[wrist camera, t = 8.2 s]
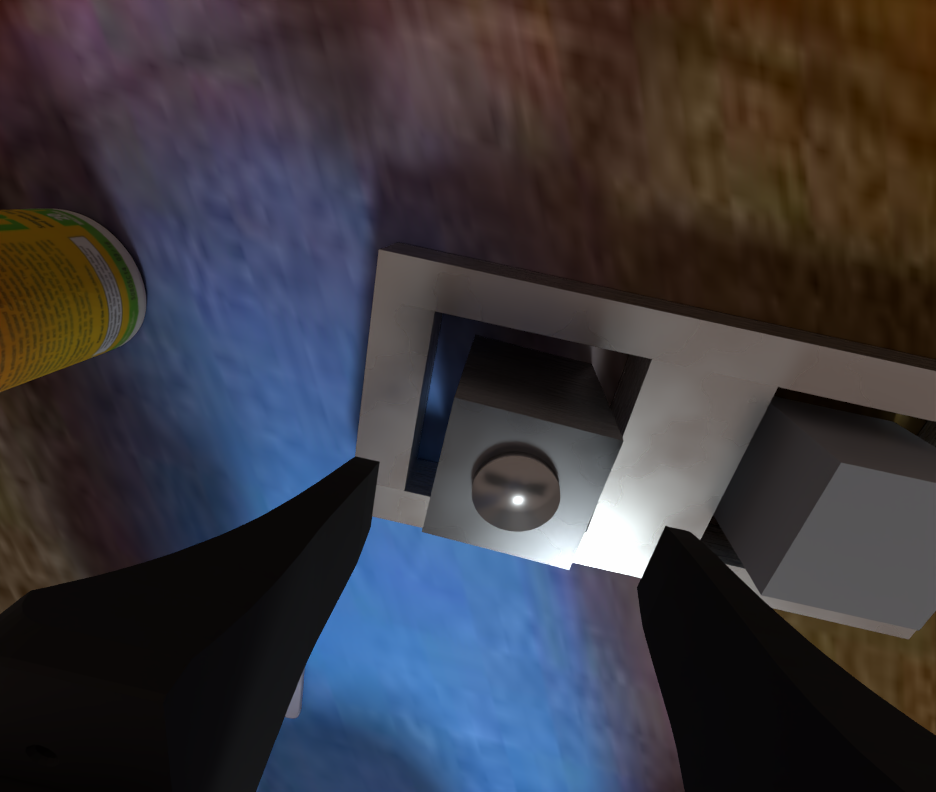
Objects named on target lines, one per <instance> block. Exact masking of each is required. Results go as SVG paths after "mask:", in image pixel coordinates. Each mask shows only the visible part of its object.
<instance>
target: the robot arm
mask: <svg viewBox="0 0 936 792" xmlns="http://www.w3.org/2000/svg"><path fill="white" fill-rule="evenodd" d="M379 464H380V462H379V461H375V460H370V459H366V458H361V457H357V456H356V457H354V458H352V459H351V460H349V461H348V462H346V463H345V464H343V465H342V466H341V467H339V468H338V469H336V470H335V471H333V472H332V473H331V474H329V475H328V476H326V477H325V478H323V479H322V480H320V481H319V482H317V483H316V484H314V485H313V486H311V487H310V488H308V489H306V490H305V491H303V492H302V493H300V494H299V495H297V496H296V497H294V498H292V499H291V500H289V501H287V502H285V503H284V504H282V505H280V506H278V507H277V508H275V509H273V510H271V511H270V512H268V513H266V514H264V515H262V516H260V517H259V518H257V519H255V520H253V521H251V522H249V523H246V524H244V525H242V526H240V527H238V528H235V529H233V530H231V531H229V532H227V533H224V534H222V535H220V536H217V537H215V538H212V539H209V540H207V541H204V542H201V543H199V544H196V545H194V546H191V547H188V548H186V549H183V550H180V551H178V552H175V553H172V554H169V555H166V556H163V557H160V558H157V559H154V560H151V561H147V562H144V563H141V564H137V565H134V566H131V567H127V568H124V569H120V570H117V571H113V572H109V573H105V574H102V575H97V576H93V577H89V578H85V579H80V580H76V581H72V582H68V583H63V584H59V585H55V586H50V587H46V588H41V589H36V590H32V591H30V592H28V593H27V594H26V595H24V596H23V597H22V598H20V599H19V600H18V601H17V602H15V603H14V604H13V605H11V606H10V607H9V608H8V609H6V610H5V611H4V612H3V613H1V614H0V792H256V790H257V787H258V785H259V782H260V779H261V777H262V774H263V771H264V769H265V766H266V763H267V761H268V758H269V756H270V753H271V750H272V748H273V745H274V743H275V740H276V738H277V735H278V733H279V730H280V728H281V725H282V722H283V720H284V717H287V718H297V717H298V716H299V714H300V712H301V709H302V697H303V684H304V672H305V665H306V663H307V661H308V659H309V656H310V654H311V652H312V650H313V648H314V646H315V644H316V642H317V640H318V638H319V636H320V634H321V632H322V630H323V628H324V626H325V624H326V622H327V620H328V618H329V617H330V615H331V613H332V611H333V609H334V607H335V605H336V603H337V601H338V599H339V597H340V595H341V593H342V592H343V590H344V588H345V586H346V584H347V582H348V580H349V578H350V576H351V574H352V572H353V570H354V568H355V566H356V564H357V562H358V559H359V557H360V554H361V552H362V549H363V546H364V544H365V541H366V538H367V535H368V533H369V530H370V527H371V520H372V513H373V506H374V499H375V492H376V485H377V478H378V471H379ZM637 590H638V598H639V606H640V613H641V619H642V625H643V630H644V633H645V637H646V641H647V644H648V648H649V651H650V655H651V659H652V662H653V665H654V669H655V672H656V676H657V679H658V683H659V686H660V689H661V693H662V696H663V700H664V703H665V707H666V710H667V713H668V717H669V720H670V724H671V728H672V732H673V736H674V740H675V744H676V748H677V753H678V758H679V763H680V768H681V773H682V779H683V784H684V789H685V792H936V735H934V734H933V733H931V732H930V731H928V730H927V729H925V728H924V727H922V726H921V725H919V724H918V723H916V722H915V721H914V720H912V719H911V718H909V717H908V716H906V715H905V714H904V713H902V712H901V711H899V710H898V709H897V708H895V707H894V706H892V705H891V704H889V703H888V702H887V701H885V700H884V699H882V698H881V697H880V696H878V695H877V694H875V693H874V692H873V691H871V690H870V689H869V688H867V687H866V686H865V685H863V684H862V683H861V682H859V681H858V680H857V679H855V678H854V677H853V676H852V675H850V674H849V673H848V672H847V671H845V670H844V669H843V668H841V667H840V666H839V665H838V664H836V663H835V662H834V661H833V660H831V659H830V658H829V657H828V656H826V655H825V654H824V653H822V652H821V651H820V650H819V649H818V648H816V647H815V646H814V645H813V644H812V643H810V642H809V641H808V640H807V639H806V638H805V637H803V636H802V635H801V634H800V633H799V632H798V631H797V630H796V629H794V628H793V627H792V626H791V625H790V624H789V623H788V622H786V621H785V620H784V619H783V618H782V617H781V616H780V615H779V614H777V613H776V612H775V611H774V610H773V609H772V608H771V607H770V606H769V605H768V604H767V603H766V602H764V601H763V600H762V599H761V598H760V597H759V596H758V595H757V594H756V593H755V592H754V591H753V590H752V589H751V588H750V587H749V586H748V585H747V584H746V583H744V582H743V581H742V580H741V579H740V578H739V577H738V576H737V575H736V574H735V573H734V572H733V571H732V570H731V569H730V568H729V567H728V566H727V565H726V564H725V563H724V562H723V561H722V560H721V559H720V558H719V557H718V556H717V555H716V554H715V553H714V552H712V551H711V550H710V549H709V548H708V547H707V546H706V545H705V544H704V543H703V542H702V541H701V540H700V539H698V538H697V537H696V536H695V535H694V534H692V533H691V532H690V531H686V530H682V529H677V528H673V527H668V526H665V528H664V530H663V532H662V534H661V536H660V538H659V541H658V543H657V545H656V547H655V549H654V552H653V554H652V556H651V558H650V560H649V563H648V565H647V567H646V569H645V571H644V573H643V576H642V578H641V580H640V582H639V584H638V587H637Z"/></svg>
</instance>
